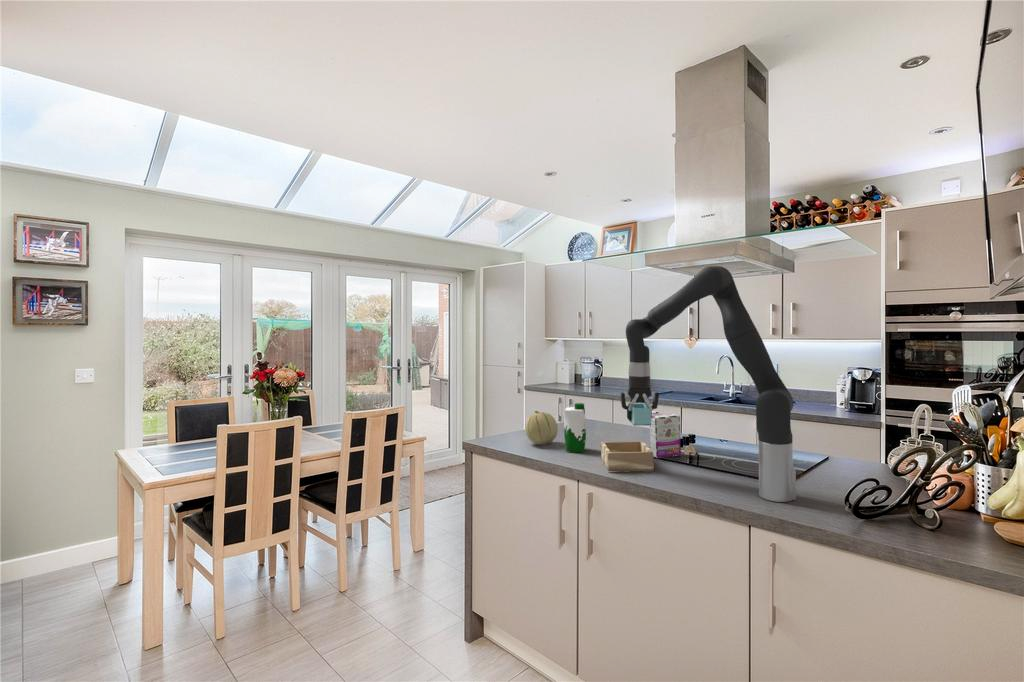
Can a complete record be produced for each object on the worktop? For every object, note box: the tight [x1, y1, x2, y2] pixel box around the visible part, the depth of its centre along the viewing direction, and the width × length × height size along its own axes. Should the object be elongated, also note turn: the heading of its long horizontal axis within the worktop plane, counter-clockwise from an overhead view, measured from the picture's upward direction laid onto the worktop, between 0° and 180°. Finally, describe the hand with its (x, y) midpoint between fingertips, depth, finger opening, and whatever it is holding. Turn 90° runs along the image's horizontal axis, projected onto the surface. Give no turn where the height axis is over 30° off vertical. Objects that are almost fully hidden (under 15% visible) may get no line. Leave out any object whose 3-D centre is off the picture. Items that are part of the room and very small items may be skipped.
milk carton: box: [563, 402, 587, 453], centre depth 220 cm, size 9×9×20 cm
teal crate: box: [627, 403, 651, 427], centre depth 187 cm, size 10×6×6 cm, turn 179°
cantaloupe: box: [525, 410, 559, 445], centre depth 233 cm, size 15×15×15 cm
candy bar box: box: [649, 413, 682, 459], centre depth 207 cm, size 11×5×16 cm, turn 105°
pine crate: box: [600, 440, 655, 472], centre depth 196 cm, size 17×16×7 cm
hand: (639, 420), depth 187 cm, fingers closed on teal crate, 6 cm apart
